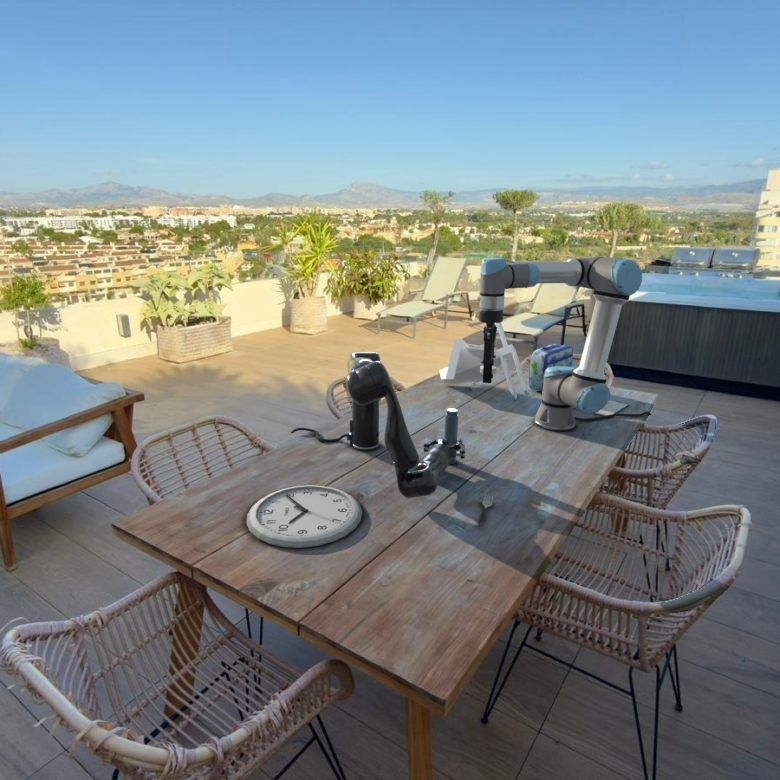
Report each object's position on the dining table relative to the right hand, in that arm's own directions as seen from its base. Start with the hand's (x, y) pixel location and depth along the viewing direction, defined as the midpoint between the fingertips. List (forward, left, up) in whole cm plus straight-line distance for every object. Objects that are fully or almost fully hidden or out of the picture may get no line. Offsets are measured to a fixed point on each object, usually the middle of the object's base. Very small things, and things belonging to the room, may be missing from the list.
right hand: (487, 379), depth 171 cm
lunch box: (-35, -81, -26) cm, 92 cm away
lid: (0, 0, +4) cm, 4 cm away
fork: (+2, +40, -26) cm, 48 cm away
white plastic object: (-2, -69, -26) cm, 73 cm away
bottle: (+11, +9, -26) cm, 29 cm away
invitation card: (-54, -57, -26) cm, 82 cm away
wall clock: (+49, +48, -26) cm, 73 cm away
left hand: (+10, +6, -19) cm, 23 cm away
